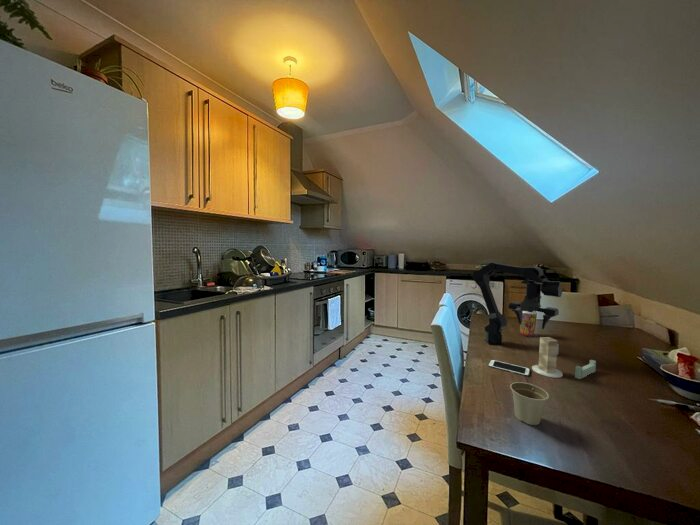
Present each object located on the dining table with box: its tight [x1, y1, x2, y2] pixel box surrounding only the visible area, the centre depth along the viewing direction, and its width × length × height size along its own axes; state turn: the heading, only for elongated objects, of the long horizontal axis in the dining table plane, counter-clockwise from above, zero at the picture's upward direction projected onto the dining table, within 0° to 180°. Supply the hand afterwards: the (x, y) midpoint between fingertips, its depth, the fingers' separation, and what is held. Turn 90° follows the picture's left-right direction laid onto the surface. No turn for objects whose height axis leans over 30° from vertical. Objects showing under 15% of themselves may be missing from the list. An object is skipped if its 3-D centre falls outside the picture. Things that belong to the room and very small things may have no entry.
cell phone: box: [487, 359, 531, 378], centre depth 110 cm, size 8×15×1 cm, turn 53°
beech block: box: [538, 336, 559, 373], centre depth 107 cm, size 4×4×13 cm
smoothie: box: [519, 311, 538, 338], centre depth 151 cm, size 8×8×20 cm
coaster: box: [531, 364, 564, 379], centre depth 107 cm, size 10×10×1 cm
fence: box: [574, 359, 597, 380], centre depth 105 cm, size 2×14×4 cm, turn 118°
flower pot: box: [509, 381, 550, 426], centre depth 78 cm, size 9×9×9 cm
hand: (531, 326), depth 125 cm, fingers open, 9 cm apart
